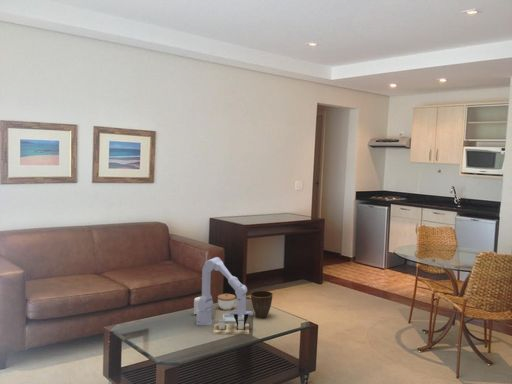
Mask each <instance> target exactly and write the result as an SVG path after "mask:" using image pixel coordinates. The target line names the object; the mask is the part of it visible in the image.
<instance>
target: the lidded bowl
mask: <svg viewBox="0 0 512 384" xmlns="http://www.w3.org/2000/svg"><path fill="white" fill-rule="evenodd" d="M236 299H237V295H236V294H231V293H226V292H225V293H222V294H219V295H217V304H218V306H219V308H220V309H221V310H222V309H223V310H222V311H231V310H232V309H233V308H234V307H235V305H236Z"/></svg>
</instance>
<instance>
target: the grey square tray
mask: <svg viewBox="0 0 512 384" xmlns="http://www.w3.org/2000/svg"><path fill="white" fill-rule="evenodd" d="M238 318H244V315H238ZM222 319H225V324H237V323H236V320H235V318H234V315H229V313H223V314H222Z"/></svg>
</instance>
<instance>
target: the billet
mask: <svg viewBox="0 0 512 384" xmlns="http://www.w3.org/2000/svg"><path fill="white" fill-rule="evenodd" d="M218 324H219V327H218V330H226V327H225V319H223V318H218Z"/></svg>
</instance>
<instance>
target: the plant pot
mask: <svg viewBox="0 0 512 384" xmlns="http://www.w3.org/2000/svg"><path fill="white" fill-rule="evenodd" d="M273 296H274V294H273V292H270V291H267V290H256V291H253V292H251V293H250V301H251V304H252V310H253V313H254V315H255V317H256V318H258V319H267V318H268V315H269V313H270V310H271V306H272V301H273Z"/></svg>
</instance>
